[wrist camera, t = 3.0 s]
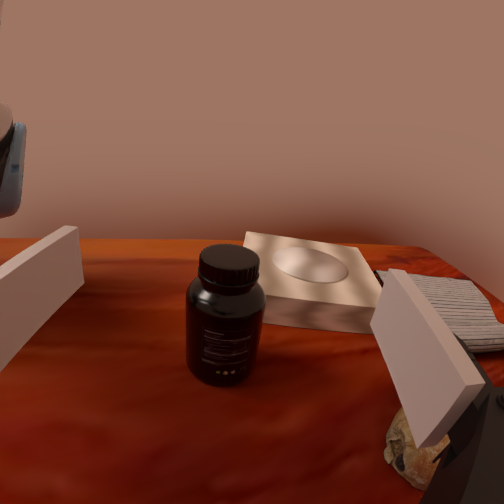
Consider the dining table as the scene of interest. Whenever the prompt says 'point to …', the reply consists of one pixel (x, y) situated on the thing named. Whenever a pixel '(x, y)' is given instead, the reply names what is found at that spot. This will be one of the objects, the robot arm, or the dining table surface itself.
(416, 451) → the bread roll
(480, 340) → the mat
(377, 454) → the dining table surface
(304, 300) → the stand
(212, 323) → the supplement bottle
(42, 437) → the dining table surface
